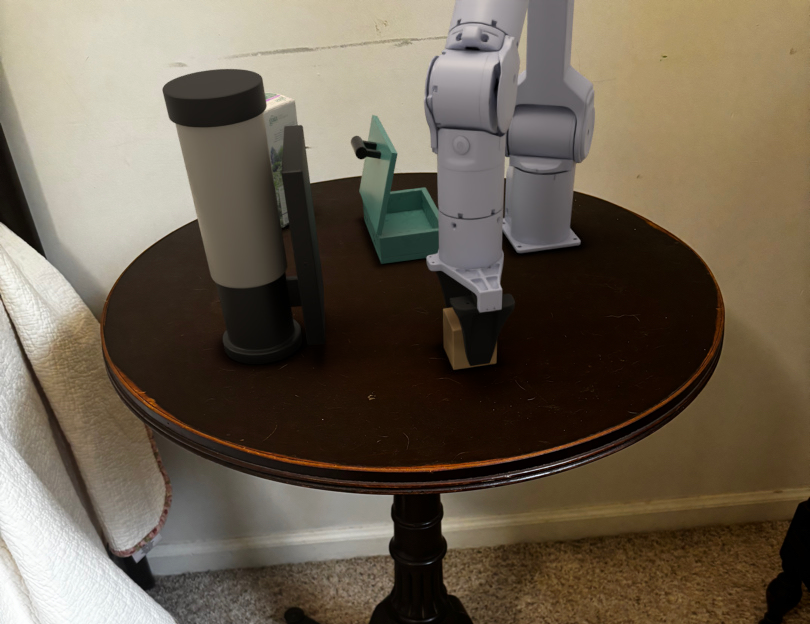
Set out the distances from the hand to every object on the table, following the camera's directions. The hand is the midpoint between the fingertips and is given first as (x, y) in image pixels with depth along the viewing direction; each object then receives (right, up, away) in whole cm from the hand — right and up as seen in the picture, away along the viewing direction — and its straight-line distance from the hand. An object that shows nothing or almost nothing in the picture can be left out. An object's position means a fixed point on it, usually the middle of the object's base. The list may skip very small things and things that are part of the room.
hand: (469, 343), depth 80 cm
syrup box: (-23, +23, +28) cm, 43 cm away
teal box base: (-6, +19, +22) cm, 29 cm away
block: (0, -1, +1) cm, 1 cm away
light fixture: (-20, +1, +5) cm, 21 cm away
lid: (-9, +24, +16) cm, 30 cm away
